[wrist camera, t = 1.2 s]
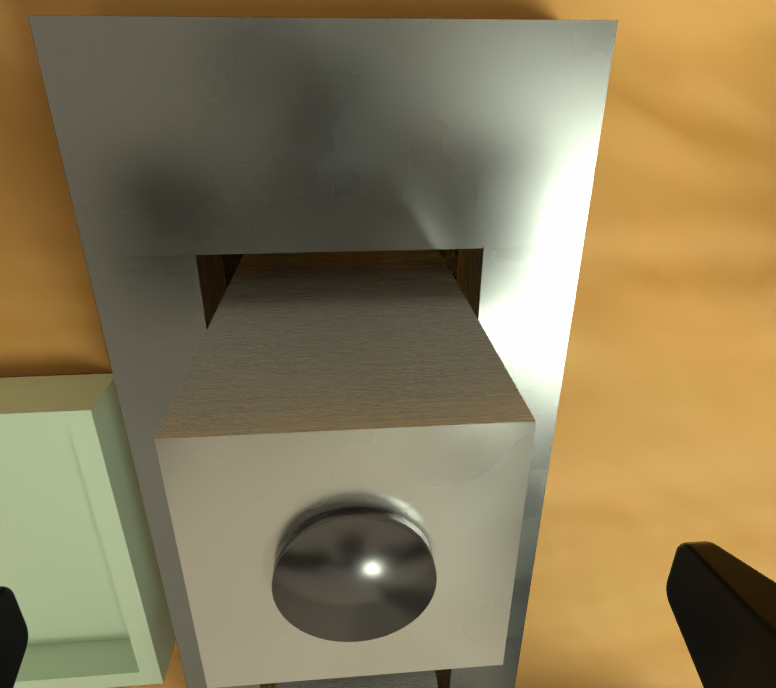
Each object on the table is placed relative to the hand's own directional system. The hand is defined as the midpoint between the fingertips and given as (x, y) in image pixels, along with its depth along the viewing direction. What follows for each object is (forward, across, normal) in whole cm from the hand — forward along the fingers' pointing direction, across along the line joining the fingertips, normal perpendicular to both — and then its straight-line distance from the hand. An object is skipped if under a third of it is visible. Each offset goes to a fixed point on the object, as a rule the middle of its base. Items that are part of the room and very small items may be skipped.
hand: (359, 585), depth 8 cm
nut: (+8, 0, 0) cm, 8 cm away
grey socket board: (+8, 0, +6) cm, 10 cm away
